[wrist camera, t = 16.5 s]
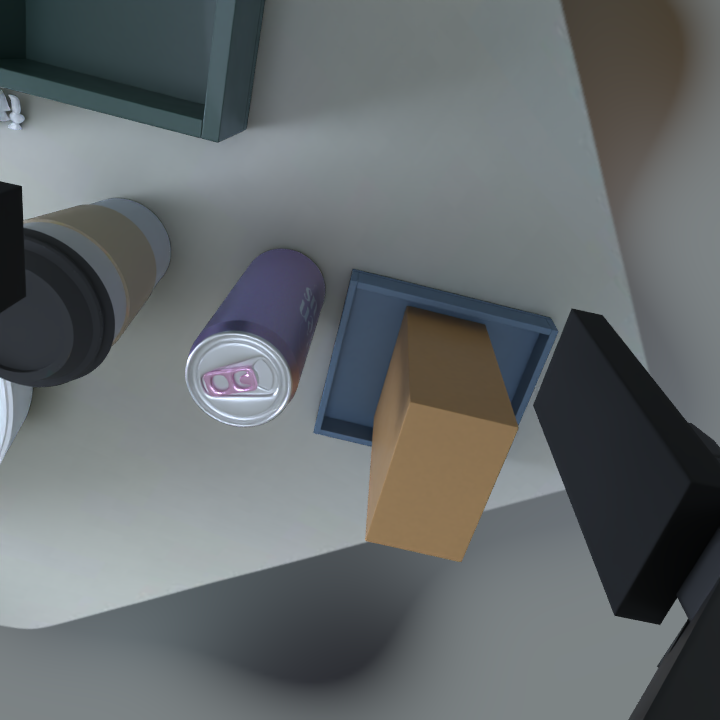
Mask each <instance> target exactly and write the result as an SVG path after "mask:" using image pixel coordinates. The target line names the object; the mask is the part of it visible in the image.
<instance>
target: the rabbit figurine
mask: <svg viewBox="0 0 720 720" xmlns="http://www.w3.org/2000/svg"><path fill="white" fill-rule="evenodd" d="M8 96H9V97H10V99H11V103H12V112H11V113H10V118H9V117H8V116H7V114H6V112H5V111H9V110H10V108H9V106H8V103H7V100H6V97H5V95H4V93H3V92H2V90H1V89H0V121H3V122H5V121H8V120H10V119H11V120H12V121H13V122H14V123H12V124H10V125H9V126H8V127H9V128H10V129H14V130H21V129H22V128H21V126H20V125H19V123H22V122H23V121H24V120H25V118H24V116H23V115H22V114H20V112H21V107H20V100H19V98H18V97H17V96H15V95H11V94H9V95H8Z"/></svg>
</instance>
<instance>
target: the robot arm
mask: <svg viewBox="0 0 720 720" xmlns="http://www.w3.org/2000/svg"><path fill="white" fill-rule="evenodd" d="M25 297H26V275H25V251H24V227H23V203H22V186H19V185H14V184H10V183H5V182H1V181H0V313H1V312H3V311H4V310H6V309H7V308H9V307H11V306H12V305H14V304H15V303H17V302H18V301H20V300H21V299H23V298H25ZM533 406H534V409H535V411H536V414H537V416H538V419H539V422H540V424H541V427H542V429H543V432H544V434H545V437H546V440H547V442H548V445H549V447H550V450H551V453H552V455H553V458H554V460H555V463H556V465H557V468H558V471H559V473H560V476H561V478H562V481H563V484H564V486H565V489H566V491H567V494H568V496H569V499H570V502H571V504H572V507H573V509H574V512H575V515H576V517H577V519H578V522H579V525H580V528H581V530H582V533H583V535H584V538H585V540H586V543H587V546H588V548H589V551H590V553H591V556H592V559H593V561H594V564H595V566H596V568H597V571H598V574H599V577H600V579H601V582H602V584H603V587H604V590H605V592H606V594H607V597H608V600H609V603H610V605H611V608H612V610H613V613H614V615H615V616H619V617H624V618H629V619H634V620H639V621H644V622H649V623H654V624H659V625H660V624H661V623H662V621H663V619H664V618H665V616H666V615H667V613H668V611H669V610H670V608H671V607H672V605H673V603H674V602H675V600H676V599H677V598H678V599H679V601H680V603H681V605H682V607H683V609H684V611H685V613H686V615H687V617H688V620H687V622H686V623H685V625H684V626H683V628H682V629H681V631H680V632H679V634H678V636H677V637H676V638H675V640H674V641H673V643H672V644H671V646H670V648H669V649H668V650H667V652H666V653H665V655H664V657H663V658H662V660H661V661H660V663H659V664H658V666H657V667H658V670H657V671H656V673H655V675H654V677H653V678H652V680H651V682H650V684H649V685H648V687H647V689H646V691H645V692H644V694H643V696H642V697H641V699H640V701H639V702H638V704H637V706H636V708H635V709H634V711H633V713H632V714H631V716H630V718H629V720H720V447H719V446H718V445H717V444H716V442H715V441H714V440H712V439H711V438H710V437H709V436H707V435H706V434H705V433H703V432H702V431H701V430H700V429H698V428H697V427H696V426H694V425H693V424H692V423H688V422H687V421H686V420H685V419H684V417H683V416H682V415H681V414H680V412H679V411H678V410H677V409H676V407H675V406H674V405H673V404H672V402H671V401H670V400H669V398H668V397H667V396H666V395H665V394H664V392H663V391H662V390H661V388H660V387H659V386H658V385H657V384H656V382H655V381H654V380H653V378H652V377H651V376H650V374H649V373H648V372H647V371H646V369H645V368H644V367H643V366H642V364H641V363H640V362H639V361H638V359H637V358H636V357H635V356H634V354H633V353H632V352H631V351H630V349H629V348H628V347H627V345H626V344H625V343H624V342H623V340H622V339H621V338H620V337H619V335H618V334H617V333H616V332H615V330H614V329H613V328H612V327H611V325H610V324H609V323H608V322H607V320H606V319H605V318H604V316H603V315H599V314H594V313H590V312H585V311H581V310H576V309H571V312H570V314H569V317H568V319H567V322H566V324H565V327H564V329H563V332H562V334H561V337H560V339H559V342H558V344H557V347H556V349H555V352H554V354H553V357H552V359H551V362H550V364H549V367H548V369H547V372H546V374H545V377H544V379H543V382H542V385H541V387H540V390H539V392H538V395H537V397H536V400H535V402H534V405H533Z"/></svg>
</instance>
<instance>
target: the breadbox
mask: <svg viewBox="0 0 720 720" xmlns="http://www.w3.org/2000/svg"><path fill="white" fill-rule="evenodd" d="M264 4H265V0H0V87H3V88H7V89H11V90H15V91H19V92H23V93H27V94H31V95H34V96H38V97H42V98H46V99H50V100H54V101H58V102H62V103H66V104H70V105H73V106H77V107H81V108H85V109H89V110H93V111H97V112H101V113H105V114H109V115H112V116H116V117H120V118H124V119H128V120H132V121H136V122H140V123H144V124H148V125H151V126H155V127H159V128H163V129H167V130H171V131H175V132H179V133H183V134H186V135H190V136H194V137H198V138H202V139H206V140H210V141H214V142H217V143H218V142H220V141H223V140H225V139H227V138H229V137H231V136H233V135H235V134H238V133H240V132H242V131H244V130H246V129H247V122H248V115H249V108H250V101H251V94H252V87H253V80H254V73H255V66H256V59H257V52H258V45H259V38H260V31H261V25H262V18H263V11H264Z"/></svg>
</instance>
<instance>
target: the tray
mask: <svg viewBox="0 0 720 720" xmlns="http://www.w3.org/2000/svg"><path fill="white" fill-rule="evenodd" d="M407 306H411V307H415V308H419V309H424V310H428V311H432V312H436V313H440V314H444V315H448V316H452V317H456V318H460V319H464V320H468V321H472V322H476V323H480V324H484V325H486V328H487V332H488V335H489V338H490V341H491V344H492V347H493V350H494V353H495V356H496V359H497V362H498V365H499V369H500V372H501V375H502V378H503V381H504V384H505V387H506V390H507V393H508V396H509V399H510V402H511V406H512V409H513V412H514V415H515V418H516V421H517V424H518V425H519V423H520V420H521V418H522V416H523V413H524V411H525V409H526V406H527V404H528V402H529V399H530V397H531V395H532V392H533V390H534V388H535V385H536V383H537V381H538V378H539V376H540V374H541V371H542V369H543V366H544V364H545V362H546V359H547V357H548V355H549V352H550V350H551V348H552V345H553V343H554V341H555V338H556V336H557V334H558V330H557V328H556V326H555V324H554V323H553V321H552V319H551V318H549V317H545V316H541V315H537V314H533V313H529V312H525V311H521V310H517V309H513V308H509V307H505V306H501V305H497V304H493V303H489V302H485V301H481V300H477V299H473V298H469V297H465V296H461V295H457V294H453V293H449V292H445V291H441V290H437V289H433V288H429V287H425V286H421V285H416V284H412V283H408V282H404V281H400V280H396V279H392V278H388V277H384V276H380V275H376V274H372V273H368V272H364V271H360V270H356V269H353V271H352V275H351V279H350V283H349V287H348V291H347V296H346V300H345V304H344V308H343V312H342V316H341V320H340V324H339V328H338V333H337V337H336V341H335V345H334V349H333V353H332V357H331V361H330V365H329V369H328V374H327V378H326V382H325V386H324V390H323V394H322V398H321V402H320V406H319V410H318V415H317V419H316V423H315V428H314V432H313V433H315V434H320V435H324V436H328V437H333V438H337V439H341V440H346V441H350V442H354V443H358V444H363V445H367V446H371V447H372V437H373V423H374V415H375V412H376V409H377V405H378V402H379V398H380V395H381V392H382V388H383V385H384V381H385V378H386V375H387V371H388V368H389V364H390V361H391V358H392V354H393V351H394V347H395V344H396V341H397V337H398V334H399V330H400V327H401V324H402V320H403V317H404V313H405V310H406V307H407Z"/></svg>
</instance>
